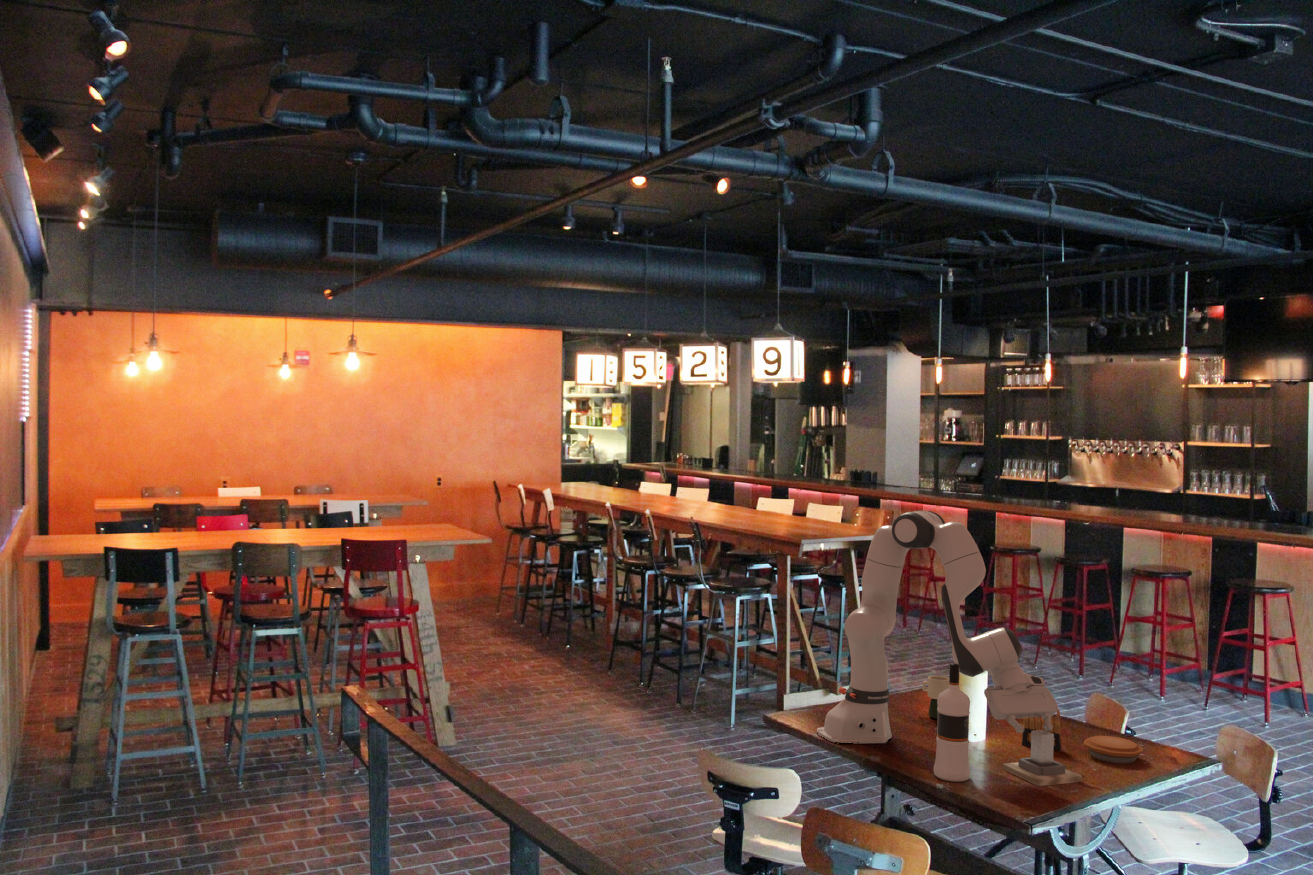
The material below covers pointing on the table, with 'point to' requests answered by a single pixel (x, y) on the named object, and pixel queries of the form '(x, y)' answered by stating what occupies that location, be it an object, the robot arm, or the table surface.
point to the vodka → (952, 731)
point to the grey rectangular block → (1042, 748)
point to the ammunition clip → (1039, 726)
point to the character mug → (935, 691)
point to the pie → (1113, 749)
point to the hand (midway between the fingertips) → (1035, 730)
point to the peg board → (1042, 773)
